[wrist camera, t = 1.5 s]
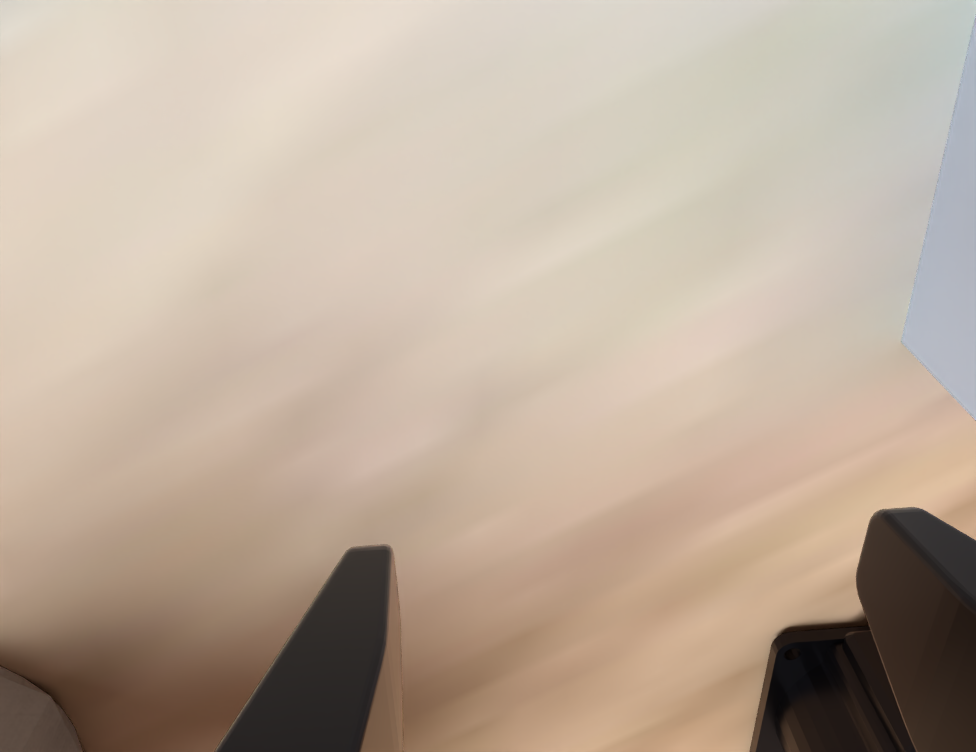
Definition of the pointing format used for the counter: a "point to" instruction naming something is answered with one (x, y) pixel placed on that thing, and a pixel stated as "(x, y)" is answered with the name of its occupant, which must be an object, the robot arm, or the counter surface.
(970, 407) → the block
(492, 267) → the counter surface
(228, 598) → the counter surface
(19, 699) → the coffeepot
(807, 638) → the robot arm
